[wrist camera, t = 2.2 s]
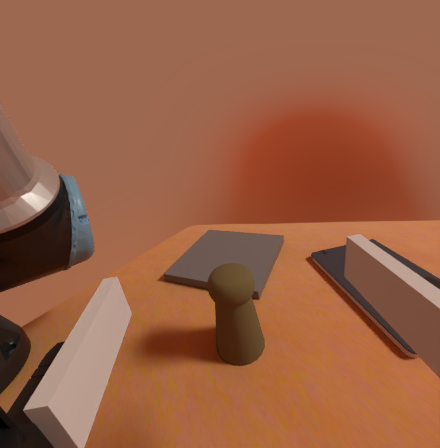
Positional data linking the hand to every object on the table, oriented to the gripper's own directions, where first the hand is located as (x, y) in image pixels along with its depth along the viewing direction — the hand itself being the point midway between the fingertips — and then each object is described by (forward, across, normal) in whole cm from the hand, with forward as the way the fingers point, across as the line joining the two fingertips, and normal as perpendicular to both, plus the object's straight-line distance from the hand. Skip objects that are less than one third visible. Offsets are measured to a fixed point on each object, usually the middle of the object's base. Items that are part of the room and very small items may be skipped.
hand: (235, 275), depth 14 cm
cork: (+10, 0, -18) cm, 21 cm away
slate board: (+29, 0, -17) cm, 34 cm away
